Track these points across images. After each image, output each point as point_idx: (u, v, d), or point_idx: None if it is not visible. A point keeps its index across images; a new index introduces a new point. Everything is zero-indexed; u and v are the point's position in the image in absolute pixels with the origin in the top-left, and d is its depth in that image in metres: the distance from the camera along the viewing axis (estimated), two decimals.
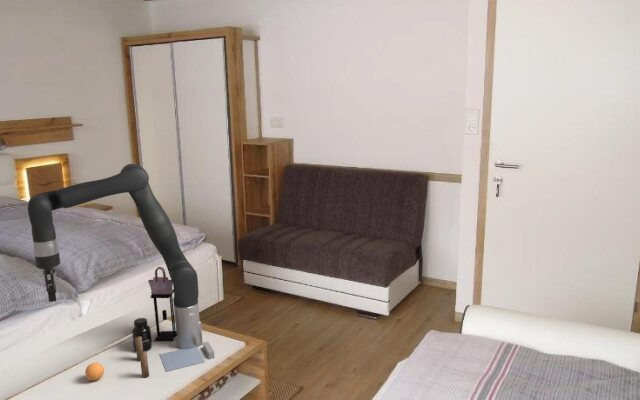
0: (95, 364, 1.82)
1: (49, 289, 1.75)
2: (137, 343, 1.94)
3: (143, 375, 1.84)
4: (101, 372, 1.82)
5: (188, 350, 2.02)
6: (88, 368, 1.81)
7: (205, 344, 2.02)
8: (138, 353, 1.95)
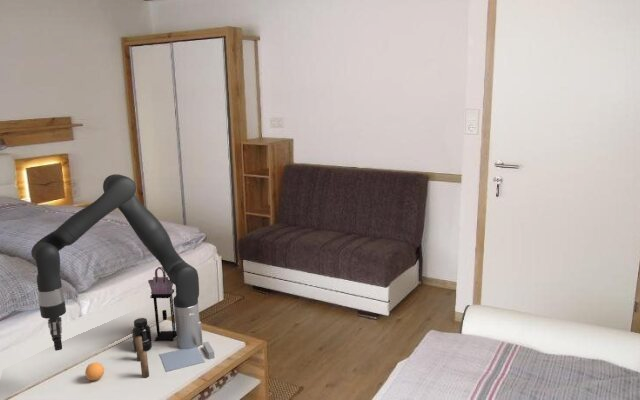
0: (95, 364, 1.82)
1: (55, 338, 1.73)
2: (137, 343, 1.94)
3: (143, 375, 1.84)
4: (101, 372, 1.82)
5: (188, 350, 2.02)
6: (88, 368, 1.81)
7: (205, 344, 2.02)
8: (138, 353, 1.95)
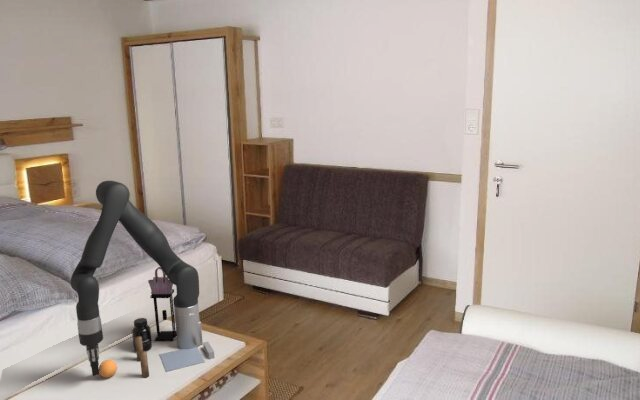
0: (116, 365, 1.85)
1: (93, 365, 1.80)
2: (137, 343, 1.94)
3: (143, 375, 1.84)
4: (111, 375, 1.84)
5: (188, 350, 2.02)
6: (111, 362, 1.84)
7: (205, 344, 2.02)
8: (138, 353, 1.95)
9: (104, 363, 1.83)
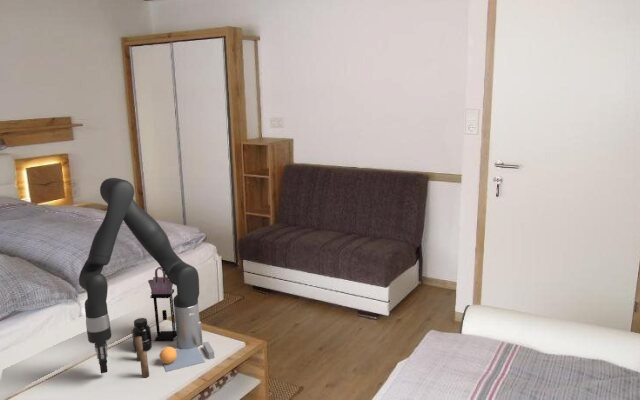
0: None
1: (102, 362, 1.81)
2: (137, 343, 1.94)
3: (143, 375, 1.84)
4: (168, 363, 1.92)
5: (188, 350, 2.02)
6: (175, 351, 1.93)
7: (205, 344, 2.02)
8: (138, 353, 1.95)
9: (170, 349, 1.92)
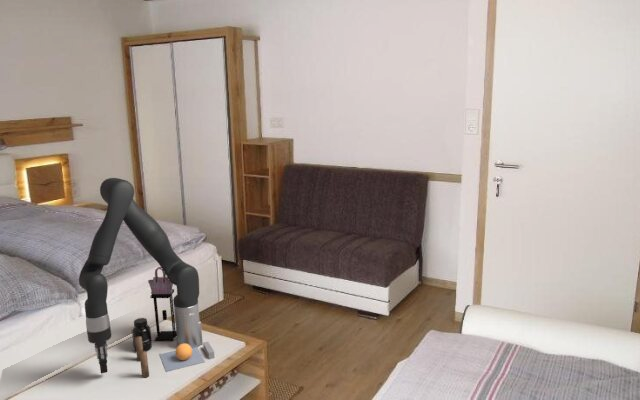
0: (179, 358, 1.95)
1: (102, 362, 1.81)
2: (137, 343, 1.94)
3: (143, 375, 1.84)
4: (179, 352, 1.93)
5: None
6: None
7: (205, 344, 2.02)
8: (138, 353, 1.95)
9: (190, 355, 1.96)
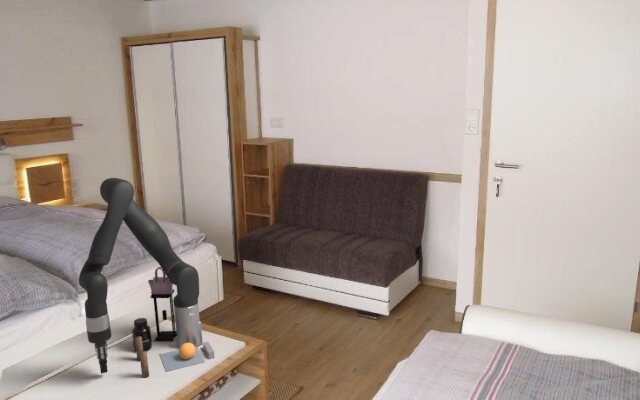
0: None
1: (102, 362, 1.81)
2: (137, 343, 1.94)
3: (143, 375, 1.84)
4: (184, 349, 1.93)
5: None
6: None
7: (205, 344, 2.02)
8: (138, 353, 1.95)
9: None
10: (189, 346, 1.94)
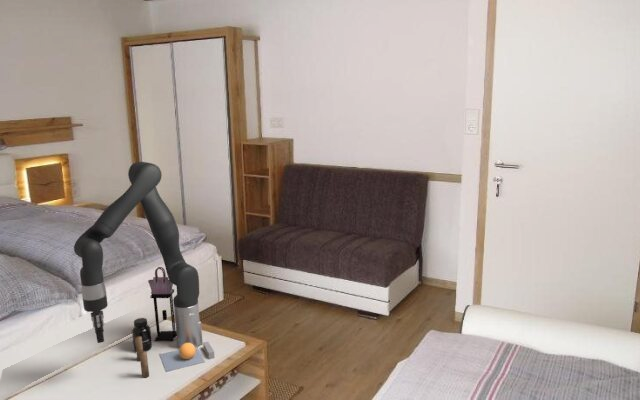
0: None
1: (98, 331, 1.78)
2: (137, 343, 1.94)
3: (143, 375, 1.84)
4: (184, 349, 1.93)
5: None
6: None
7: (205, 344, 2.02)
8: (138, 353, 1.95)
9: None
10: (189, 346, 1.94)
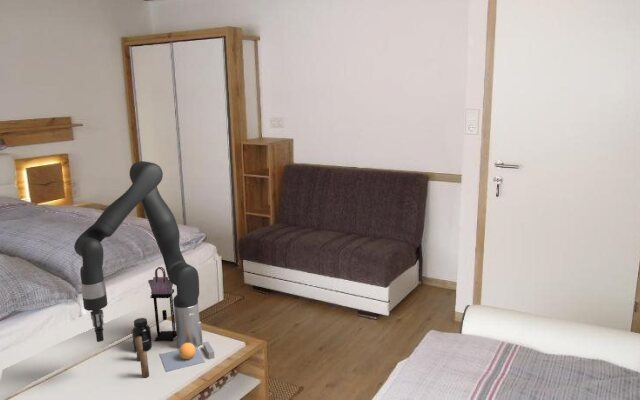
0: None
1: (97, 330, 1.78)
2: (137, 343, 1.94)
3: (143, 375, 1.84)
4: (184, 349, 1.93)
5: None
6: None
7: (205, 344, 2.02)
8: (138, 353, 1.95)
9: None
10: (189, 346, 1.94)
